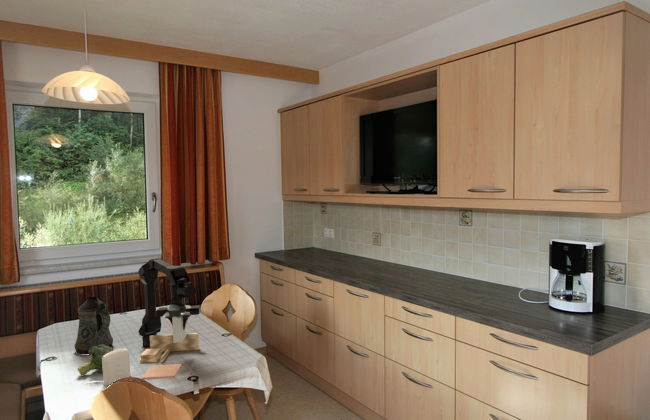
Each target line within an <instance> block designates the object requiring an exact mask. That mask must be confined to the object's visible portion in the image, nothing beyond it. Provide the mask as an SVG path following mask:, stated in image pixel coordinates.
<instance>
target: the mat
mask: <svg viewBox="0 0 650 420" xmlns="http://www.w3.org/2000/svg"><path fill="white" fill-rule="evenodd" d="M182 365H183V363H177V364H176V363H175V364H174V363H172V364H159V365H158V364H157V365H156V364H154V365H150V367H148V368H147V370H146V371H145V372H144V374H143V375H142V376H141V380H151V379H165V378H169V379H170V378H175V377H176V374H177V373H178V371H179V369H180V368H181V366H182Z"/></svg>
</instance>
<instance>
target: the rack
mask: <svg viewBox="0 0 650 420" xmlns="http://www.w3.org/2000/svg"><path fill="white" fill-rule="evenodd" d="M199 344H200V343H199V333H197V332H194V333H186V337H185V338H184V340H183V341H182V342H179V343H173V333H172V334H157V335H152V336H150V347H149V349H158V348H161V351H162V352H164V353H163V355H162V357H161V358H160V359H159V361H160V363H163V362H164V361H165V360H166V359H167V357H168V355H170V353H171V352H176V351H179V352H180V351H194V350H195V351H196V350H199V349H200V345H199Z"/></svg>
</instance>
